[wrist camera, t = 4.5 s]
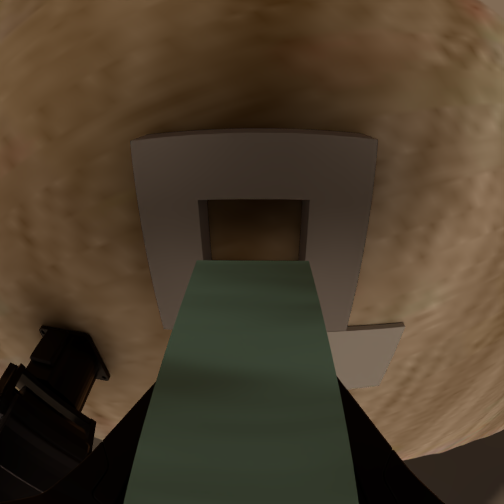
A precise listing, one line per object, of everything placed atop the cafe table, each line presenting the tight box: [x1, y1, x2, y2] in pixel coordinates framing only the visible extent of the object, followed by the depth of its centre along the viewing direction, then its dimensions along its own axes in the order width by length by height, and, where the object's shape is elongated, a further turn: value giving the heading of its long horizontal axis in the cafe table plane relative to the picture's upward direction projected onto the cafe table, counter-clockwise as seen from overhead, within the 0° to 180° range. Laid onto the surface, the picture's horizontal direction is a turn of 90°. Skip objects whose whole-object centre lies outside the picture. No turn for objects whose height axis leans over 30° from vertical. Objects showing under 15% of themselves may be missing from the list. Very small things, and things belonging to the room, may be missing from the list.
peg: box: [124, 260, 359, 504], centre depth 7 cm, size 4×4×10 cm
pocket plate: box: [130, 128, 378, 331], centre depth 17 cm, size 12×12×2 cm
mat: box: [327, 323, 405, 389], centre depth 23 cm, size 8×8×1 cm
